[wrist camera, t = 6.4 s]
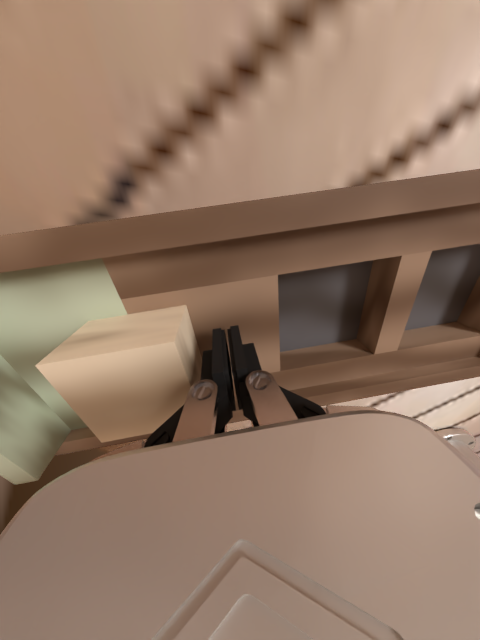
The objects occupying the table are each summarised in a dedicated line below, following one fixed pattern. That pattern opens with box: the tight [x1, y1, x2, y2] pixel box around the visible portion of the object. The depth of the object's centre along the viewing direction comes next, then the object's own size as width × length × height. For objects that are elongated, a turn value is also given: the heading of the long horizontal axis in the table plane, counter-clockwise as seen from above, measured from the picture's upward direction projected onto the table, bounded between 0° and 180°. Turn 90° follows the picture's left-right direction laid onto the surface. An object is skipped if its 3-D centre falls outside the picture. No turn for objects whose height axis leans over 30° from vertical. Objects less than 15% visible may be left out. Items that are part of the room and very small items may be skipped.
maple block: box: [35, 305, 202, 443], centre depth 12 cm, size 6×6×4 cm
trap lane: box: [0, 169, 480, 485], centre depth 13 cm, size 16×40×6 cm, turn 97°
